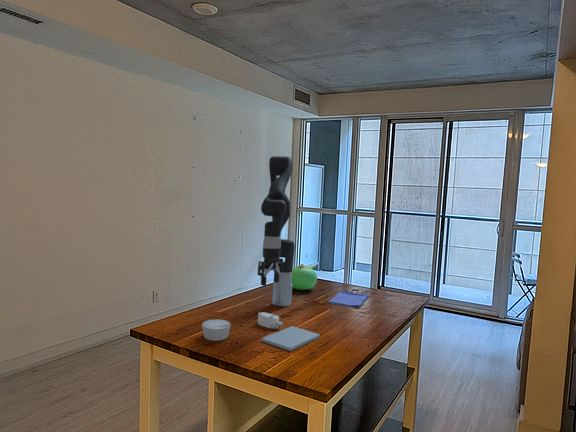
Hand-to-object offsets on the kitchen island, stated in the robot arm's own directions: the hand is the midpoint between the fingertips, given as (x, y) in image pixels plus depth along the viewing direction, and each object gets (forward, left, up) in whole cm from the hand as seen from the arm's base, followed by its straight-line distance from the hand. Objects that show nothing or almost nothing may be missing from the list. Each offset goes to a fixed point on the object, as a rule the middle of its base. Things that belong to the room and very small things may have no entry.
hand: (269, 283), depth 183 cm
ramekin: (+25, -6, -19) cm, 32 cm away
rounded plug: (0, +1, -18) cm, 18 cm away
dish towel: (-63, +5, -19) cm, 66 cm away
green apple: (-63, -27, -19) cm, 71 cm away
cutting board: (+6, +17, -18) cm, 26 cm away
